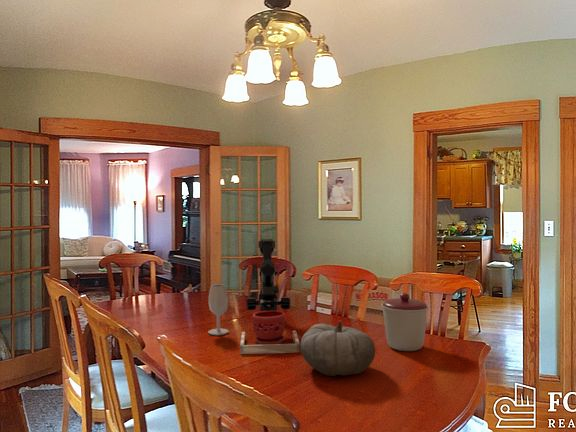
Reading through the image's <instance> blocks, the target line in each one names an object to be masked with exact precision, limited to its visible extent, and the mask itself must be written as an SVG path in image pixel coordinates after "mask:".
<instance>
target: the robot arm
mask: <svg viewBox="0 0 576 432" xmlns="http://www.w3.org/2000/svg"><path fill="white" fill-rule="evenodd" d="M275 248H276V240H273V238H260V240H258V249H259V252H260V254H261V255H262V262H261V263H260V268H259V271H258V273H259V274H258V275H259V277H260V279H261V288H260V292H259V294H258V300H257V299H256V297H247V298H246V310H247V311H254V310H256V309H257V307H259V312H261V311H278V306H280V309H281V310H289V309H291V298H290V297H289V296H283V297H282V296H281V297H280V299H279V300H278V294H279V292H280V291H279V290H280V289H279V285H275V279H276V278H275V277H276V276H277V275H278V273H279V272H278V270H277V268H275V263H274V262H273V261H272V257H273V256H272V255H273V253H274V249H275Z"/></svg>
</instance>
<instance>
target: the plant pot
mask: <svg viewBox="0 0 576 432" xmlns="http://www.w3.org/2000/svg"><path fill="white" fill-rule="evenodd" d="M285 313H286V312H283V311H281V310H277V311H257V312H254V313H253V314H252V327H253V330H254V333H255V334H254V335H255V336H256V338H255V342H256V343H257V345H263V344H283V342H284V340H285V337H284V332H285V327H286V314H285Z"/></svg>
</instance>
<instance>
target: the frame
mask: <svg viewBox="0 0 576 432" xmlns="http://www.w3.org/2000/svg"><path fill="white" fill-rule="evenodd" d="M240 338H241V339H240V343H239V344H240V345H239V354H240V355H256V354H257V355H258V354H260V355H261V354H262V355H263V354H287V353H288V354H290V353H294V354H295V353H301V342H300V341H299V337H298V333H297V331H296V330H292V338H293V339H292V340H293V343H280V344H263V345H260V344H245V343H246V331H241V337H240Z"/></svg>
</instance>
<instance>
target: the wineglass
mask: <svg viewBox="0 0 576 432" xmlns="http://www.w3.org/2000/svg"><path fill="white" fill-rule="evenodd" d="M207 299H208V302H207V303H208V307H209V311H210V312H212V314H213V315H215V316H216V328H213V329H211V330H208V331H207V333H208V334H209V335H211V336H222V335H223V336H225V335H227V334H230V331H229V329H227V328H222V327H221V316H222V315H223V314H224V313H226V312H227V310H228V307H229V306H228V305H229V296H228V290H227V287H226V285H225V284H224V283H222V284H221V283H214V284H211V285H210V288H209V291H208V298H207Z"/></svg>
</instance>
